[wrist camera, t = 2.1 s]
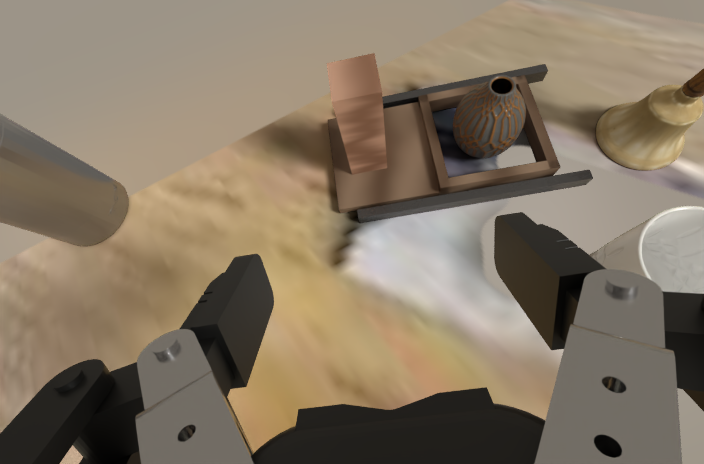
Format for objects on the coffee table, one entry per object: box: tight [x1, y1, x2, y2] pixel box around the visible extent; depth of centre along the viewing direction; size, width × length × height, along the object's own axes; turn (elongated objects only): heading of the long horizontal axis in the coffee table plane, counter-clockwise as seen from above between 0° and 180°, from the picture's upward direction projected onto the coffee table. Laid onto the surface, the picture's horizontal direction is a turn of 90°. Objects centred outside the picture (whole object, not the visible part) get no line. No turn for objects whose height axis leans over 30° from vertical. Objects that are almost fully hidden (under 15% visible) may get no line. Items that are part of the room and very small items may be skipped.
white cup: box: [590, 206, 704, 294], centre depth 27 cm, size 8×8×10 cm
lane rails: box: [357, 64, 593, 223], centre depth 38 cm, size 24×15×2 cm, turn 97°
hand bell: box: [596, 69, 704, 170], centre depth 28 cm, size 8×8×16 cm
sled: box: [327, 54, 560, 213], centre depth 32 cm, size 23×12×13 cm, turn 97°
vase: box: [453, 75, 526, 158], centre depth 34 cm, size 7×7×9 cm
